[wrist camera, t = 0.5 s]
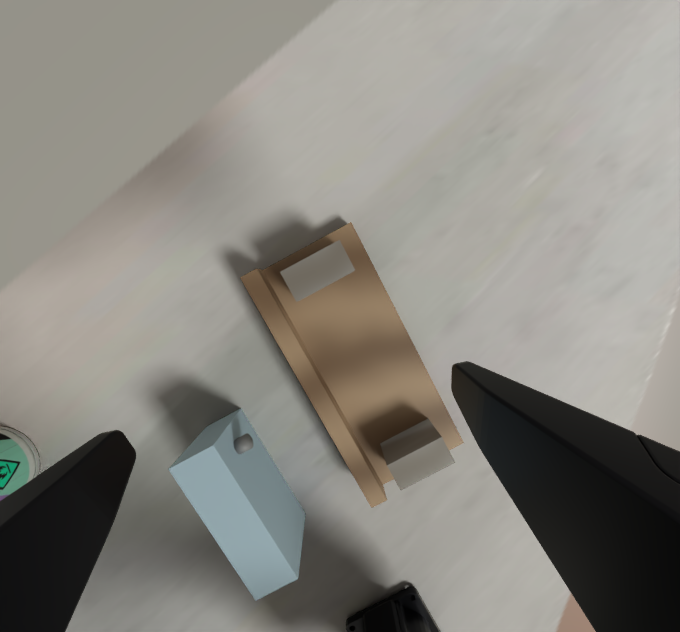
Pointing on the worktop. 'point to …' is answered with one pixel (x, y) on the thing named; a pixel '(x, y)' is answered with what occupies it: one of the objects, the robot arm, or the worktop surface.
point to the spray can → (16, 461)
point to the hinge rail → (356, 362)
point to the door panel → (244, 503)
